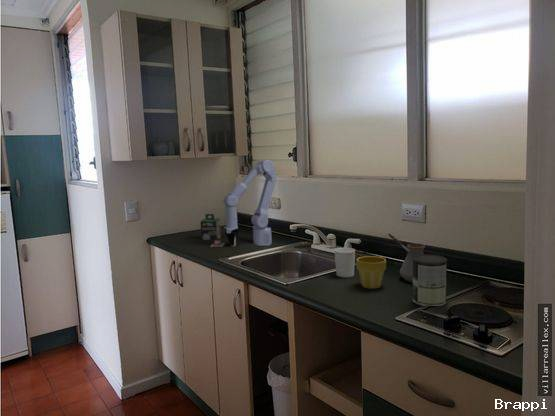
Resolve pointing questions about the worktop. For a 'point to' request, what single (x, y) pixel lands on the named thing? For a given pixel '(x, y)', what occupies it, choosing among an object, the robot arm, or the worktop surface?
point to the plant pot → (371, 270)
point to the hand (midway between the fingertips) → (232, 244)
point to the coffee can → (429, 280)
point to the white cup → (345, 262)
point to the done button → (218, 242)
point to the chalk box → (210, 228)
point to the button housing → (217, 245)
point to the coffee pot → (409, 258)
